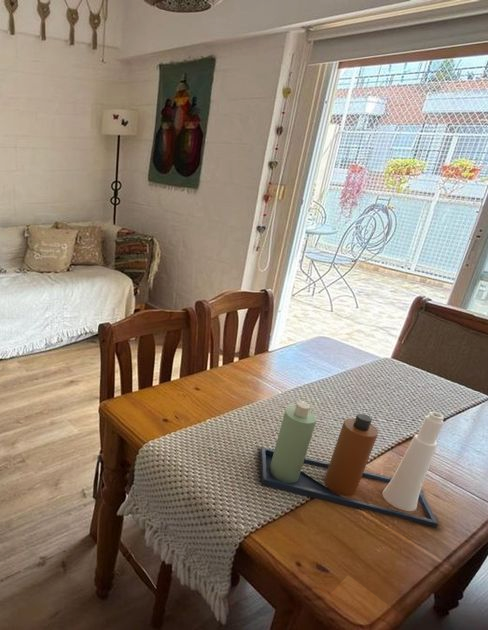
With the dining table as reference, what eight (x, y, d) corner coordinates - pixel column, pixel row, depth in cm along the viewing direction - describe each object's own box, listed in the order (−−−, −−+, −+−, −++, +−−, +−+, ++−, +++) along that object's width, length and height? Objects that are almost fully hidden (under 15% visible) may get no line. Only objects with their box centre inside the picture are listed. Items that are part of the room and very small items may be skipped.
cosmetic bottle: (377, 487, 95) (412, 402, 86) (410, 494, 94) (448, 409, 85) (386, 508, 90) (424, 420, 81) (421, 516, 88) (463, 427, 80)
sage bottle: (304, 475, 98) (325, 407, 90) (289, 487, 95) (310, 417, 87) (279, 460, 102) (297, 393, 95) (264, 470, 99) (282, 402, 92)
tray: (414, 491, 95) (418, 483, 95) (434, 532, 86) (438, 523, 85) (259, 454, 105) (261, 446, 104) (261, 487, 95) (263, 479, 95)
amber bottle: (360, 489, 95) (387, 419, 87) (347, 502, 91) (374, 430, 84) (331, 472, 99) (354, 404, 92) (318, 484, 96) (341, 414, 88)
